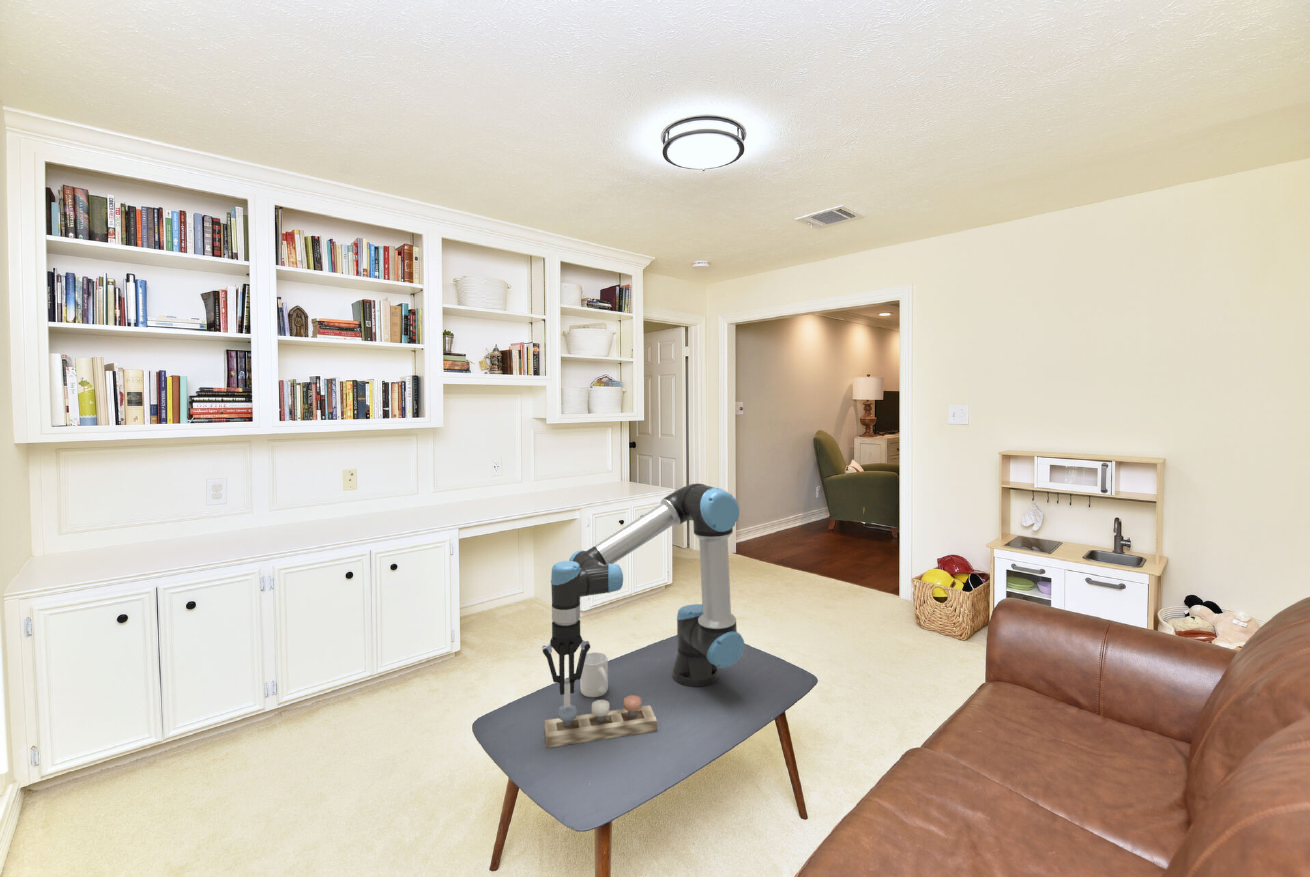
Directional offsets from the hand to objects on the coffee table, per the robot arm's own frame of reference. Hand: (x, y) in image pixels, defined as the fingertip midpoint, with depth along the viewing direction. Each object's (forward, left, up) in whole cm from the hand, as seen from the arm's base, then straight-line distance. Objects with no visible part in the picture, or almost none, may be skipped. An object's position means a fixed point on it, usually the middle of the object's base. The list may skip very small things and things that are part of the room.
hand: (567, 704), depth 158 cm
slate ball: (0, 0, -6) cm, 6 cm away
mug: (-11, -20, -9) cm, 25 cm away
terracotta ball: (-18, 0, -6) cm, 19 cm away
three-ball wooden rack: (-9, 0, -9) cm, 13 cm away
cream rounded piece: (-9, 0, -6) cm, 11 cm away
